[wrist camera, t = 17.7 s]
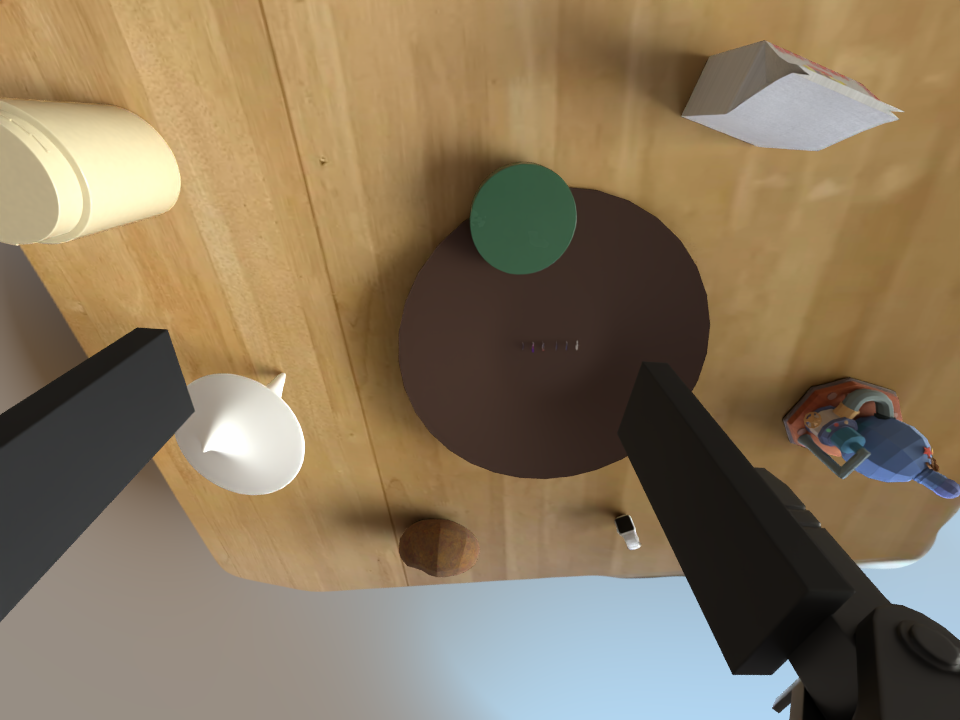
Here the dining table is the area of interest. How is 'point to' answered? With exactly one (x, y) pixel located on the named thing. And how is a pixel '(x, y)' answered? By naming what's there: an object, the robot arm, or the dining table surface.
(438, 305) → the plate
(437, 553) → the potato
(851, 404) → the model
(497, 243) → the jar lid
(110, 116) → the jam jar
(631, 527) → the smartwatch
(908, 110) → the dining table surface
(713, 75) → the tea bag
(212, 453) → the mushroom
